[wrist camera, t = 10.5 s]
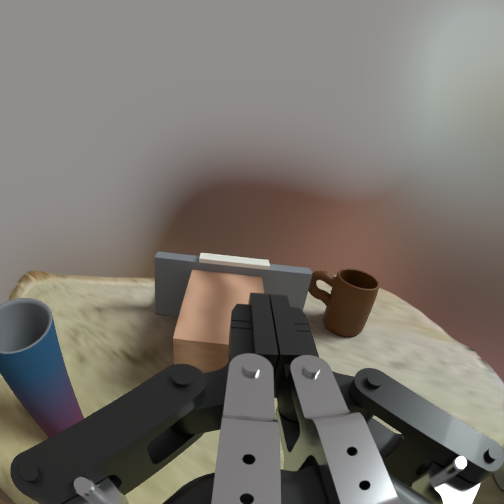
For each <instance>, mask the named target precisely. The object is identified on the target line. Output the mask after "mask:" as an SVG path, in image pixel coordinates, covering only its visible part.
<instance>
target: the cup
mask: <svg viewBox="0 0 504 504" xmlns="http://www.w3.org/2000/svg"><path fill="white" fill-rule="evenodd" d="M0 373H1V375H2V376H3V378H4V379H5V381H6V382H7V384H8V385H9V387H10V388H11V390H12V391H13V393H14V394H15V395H16V397H17V398H18V400H19V401H20V402H21V404H22V405H23V406H24V408H25V409H26V410H27V411H28V413H29V414H30V415H31V416H32V418H33V419H34V420H35V421H36V423H37V424H38V425H39V426H40V427H41V429H42V430H43V431H44V432H45V433H46V434H47V435H48V437H49V438H51V437H52V436H54V435H56V434H58V433H60V432H62V431H63V430H65V429H67V428H69V427H71V426H72V425H74V424H76V423H78V422H79V421H81V420H83V419H84V417H83V415H82V412H81V410H80V407H79V405H78V402H77V399H76V397H75V394H74V391H73V388H72V385H71V382H70V379H69V376H68V373H67V370H66V367H65V364H64V360H63V357H62V353H61V350H60V346H59V342H58V338H57V334H56V330H55V326H54V321H53V316H52V312H51V310H50V309H49V307H48V306H47V305H46V304H44V303H43V302H41V301H39V300H36V299H31V298H20V299H14V300H10V301H7V302H5V303H3V304H1V305H0Z"/></svg>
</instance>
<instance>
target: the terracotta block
mask: <svg viewBox="0 0 504 504" xmlns="http://www.w3.org/2000/svg"><path fill="white" fill-rule="evenodd" d="M250 292H252V293H264V287H263V281H262V277H258V276H248V275H239V274H229V273H220V272H211V271H202V270H193V269H192V272H191V276H190V279H189V282H188V286H187V289H186V293H185V296H184V300H183V303H182V307H181V310H180V314H179V317H178V321H177V325H176V328H175V332H174V336H173V354H174V365H175V364H189V365H192V366H194V367H196V368H198V369H199V370H201V371H202V373H207V372H213V371H216V370H219V369H221V368H223V367H224V366H225V365H226V364H227V363H228V350H229V332H230V322H231V312H232V310H233V308H234V307H235V306H236V304H248V303H249V296H250Z"/></svg>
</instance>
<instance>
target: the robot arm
mask: <svg viewBox="0 0 504 504" xmlns="http://www.w3.org/2000/svg"><path fill="white" fill-rule="evenodd" d="M274 398H277V402H278V406H277V409H276V412H275V413H274ZM275 415H276V420H275ZM374 415H375V416H377V417H378V418H380V419H381V420H383V421H384V422H386V423H387V424H389V425H390V426H392V427H393V428H395V429H396V430H398V431H399V432H401V433H402V434H396V433H394V432H393V431H391V430H390V429H388V428H387V427H385V426H384V425H382V424H381V423H379V422H378V421H376V420H375V419H373V418H372V417H373V416H374ZM219 429H220V437H219V445H218V453H217V461H216V470H215V473H211V474H207V475H204V476H201V477H199V478H196V479H194V480H192V481H190V482H189V483H187V484H186V485H184V486H183V487H181V488H180V489H179V490H178V491H177V492H176V493H174V494H173V495H172V496H171V497H170V498H169V499H167V500H166V501H165V502H164V503H163V504H472V502H473V500H474V498H475V495H476V493H477V491H478V488H479V486H480V483H481V482H482V481H483V480H485V479H486V478H487V477H489V476H490V475H491V474H493V473H494V477H495V480H496V482H497V484H498V486H499V487H500V488H501V489H502V490H504V445H503V446H502V447H501V446H500V445H499V444H498V443H497V442H496V441H494V440H493V439H491V438H489V437H487V436H486V435H484V434H482V433H480V432H479V431H477V430H475V429H474V428H472V427H470V426H469V425H467V424H465V423H463V422H462V421H460V420H458V419H457V418H455V417H453V416H452V415H450V414H448V413H447V412H445V411H444V410H442V409H440V408H439V407H437V406H435V405H434V404H432V403H431V402H429V401H427V400H426V399H424V398H422V397H421V396H419V395H418V394H416V393H414V392H413V391H411V390H410V389H408V388H406V387H405V386H403V385H402V384H400V383H399V382H397V381H395V380H394V379H392V378H391V377H389V376H388V375H386V374H384V373H383V372H381V371H379V370H377V369H372V368H365V369H362V370H360V371H359V372H357V374H356V375H355V377H353V376H348V375H343V374H339V373H335V372H333V371H332V370H331V368H330V366H329V365H328V363H327V362H325V361H324V360H323V359H321V358H319V355H318V352H317V349H316V346H315V343H314V339H313V336H312V333H311V330H310V327H309V325H308V321H307V318H306V315H305V314H304V313H303V312H302V311H301V310H300V309H299V307H290V304H289V300H288V297H287V295H281V294H269V295H268V294H265V293H252V292H250V296H249V303H248V304H236V306H235V307H234V308H233V310H232V312H231V322H230V332H229V350H228V363H227V364H226V365H225V366H224V367H223V368H221V369H219V370H216V371H213V372H207V373H202V371H201V370H199V369H198V368H196V367H194V366H192V365H189V364H175V365H172V366H169V367H167V368H166V369H164V370H163V371H161V372H160V373H158V374H157V375H155V376H153V377H152V378H150V379H149V380H147V381H146V382H144V383H142V384H141V385H139V386H138V387H136V388H134V389H133V390H131V391H130V392H128V393H126V394H125V395H123V396H121V397H120V398H118V399H117V400H115V401H113V402H112V403H110V404H108V405H107V406H105V407H103V408H102V409H100V410H98V411H97V412H95V413H93V414H91V415H90V416H88V417H86V418H85V419H83V420H81V421H79V422H78V423H76V424H74V425H72V426H71V427H69V428H67V429H65V430H63V431H62V432H60V433H58V434H56V435H54V436H52V437H51V438H49V439H47V440H45V441H43V442H41V443H39V444H38V445H36V446H34V447H32V448H30V449H28V450H26V451H24V452H22V453H20V454H19V455H17V456H16V457H15V458H14V460H13V462H12V464H11V477H12V480H13V482H14V484H15V486H16V487H17V488H18V489H19V490H20V491H21V492H22V493H23V494H25V495H26V496H28V497H30V498H31V499H33V500H34V501H35V502H36V503H38V504H129V503H128V500H127V498H126V497H125V494H127V493H128V492H130V491H131V490H133V489H134V488H136V487H137V486H138V485H140V484H141V483H143V482H144V481H145V480H147V479H148V478H150V477H151V476H152V475H154V474H155V473H156V472H158V471H159V470H160V469H162V468H163V467H164V466H166V465H167V464H168V463H169V462H171V461H172V460H173V459H175V458H176V457H177V456H178V455H180V454H181V453H182V452H183V451H184V450H186V449H187V448H188V447H189V446H191V445H192V444H193V443H194V442H195V441H197V440H198V439H199V438H200V437H201V436H202V435H203V434H204V433H205V432H210V431H214V430H219ZM279 434H280V435H279ZM280 439H281V443H282V448H283V452H284V470H282V469H280ZM404 483H405V484H404ZM407 485H408V486H407ZM410 487H411V488H410Z"/></svg>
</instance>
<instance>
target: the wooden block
mask: <svg viewBox="0 0 504 504" xmlns="http://www.w3.org/2000/svg"><path fill="white" fill-rule="evenodd" d="M0 504H15V503H14V502H13V501H12V500H11V499H10V498H9V497H8V496H7V495H6V494H5V492H4V491H3V490H2V489H1V488H0Z"/></svg>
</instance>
